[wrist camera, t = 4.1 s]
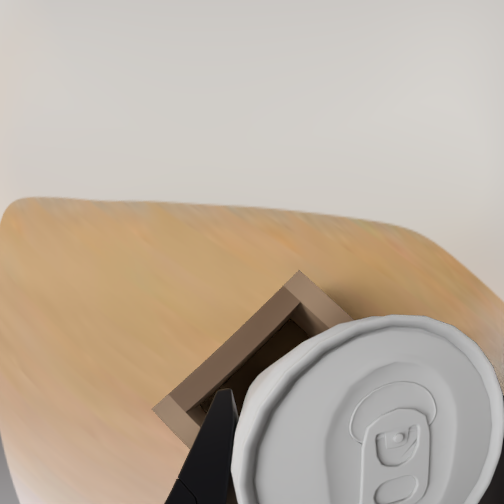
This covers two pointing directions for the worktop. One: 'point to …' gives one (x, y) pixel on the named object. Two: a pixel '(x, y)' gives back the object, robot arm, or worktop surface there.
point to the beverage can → (372, 418)
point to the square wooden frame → (247, 350)
